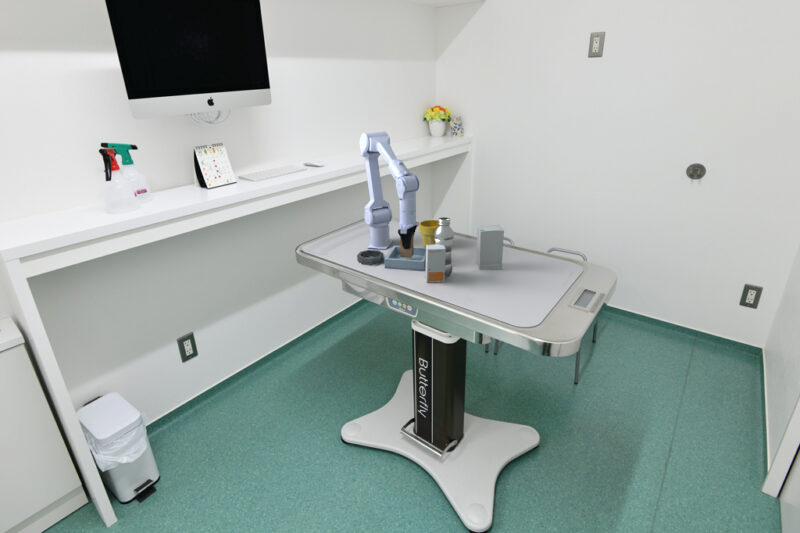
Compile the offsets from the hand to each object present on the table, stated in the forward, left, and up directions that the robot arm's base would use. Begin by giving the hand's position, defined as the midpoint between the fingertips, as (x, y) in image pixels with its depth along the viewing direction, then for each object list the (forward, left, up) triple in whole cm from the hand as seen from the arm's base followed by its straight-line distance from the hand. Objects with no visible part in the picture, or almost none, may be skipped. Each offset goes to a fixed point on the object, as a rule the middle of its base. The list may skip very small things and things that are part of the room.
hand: (407, 246), depth 163 cm
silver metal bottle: (+10, +14, -6) cm, 18 cm away
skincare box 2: (-1, +29, -6) cm, 30 cm away
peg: (0, 0, -3) cm, 4 cm away
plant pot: (-18, +6, -6) cm, 20 cm away
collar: (+1, -14, -6) cm, 15 cm away
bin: (0, 0, -6) cm, 6 cm away
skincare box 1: (+14, +12, -6) cm, 19 cm away
